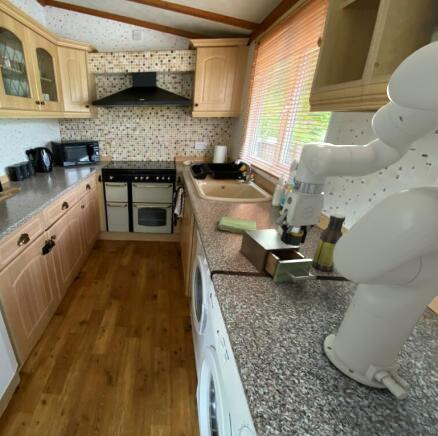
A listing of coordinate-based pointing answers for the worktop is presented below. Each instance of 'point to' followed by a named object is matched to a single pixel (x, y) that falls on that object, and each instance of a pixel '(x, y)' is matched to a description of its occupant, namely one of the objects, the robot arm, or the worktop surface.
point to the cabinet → (262, 246)
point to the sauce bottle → (328, 243)
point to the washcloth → (236, 225)
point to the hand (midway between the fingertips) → (292, 241)
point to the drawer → (288, 266)
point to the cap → (296, 236)
